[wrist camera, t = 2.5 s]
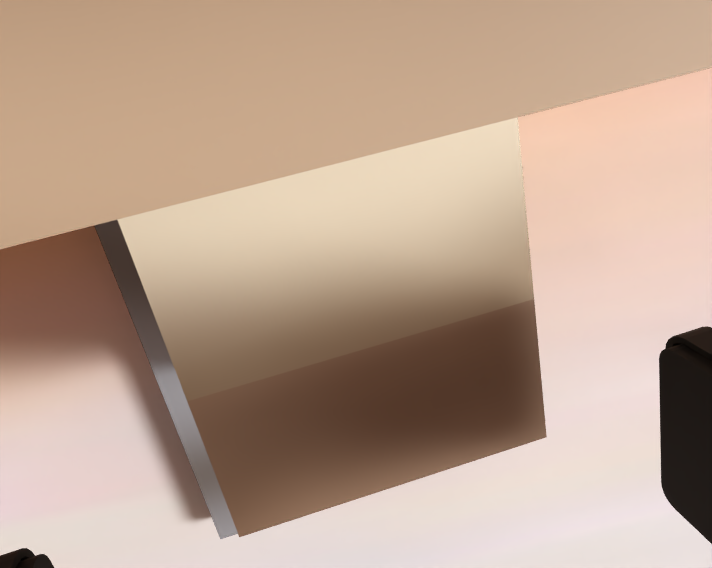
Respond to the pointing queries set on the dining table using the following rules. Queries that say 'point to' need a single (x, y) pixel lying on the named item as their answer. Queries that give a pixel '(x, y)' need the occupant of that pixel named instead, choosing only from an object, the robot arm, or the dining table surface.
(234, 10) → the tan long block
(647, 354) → the dining table surface
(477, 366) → the block
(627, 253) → the dining table surface
